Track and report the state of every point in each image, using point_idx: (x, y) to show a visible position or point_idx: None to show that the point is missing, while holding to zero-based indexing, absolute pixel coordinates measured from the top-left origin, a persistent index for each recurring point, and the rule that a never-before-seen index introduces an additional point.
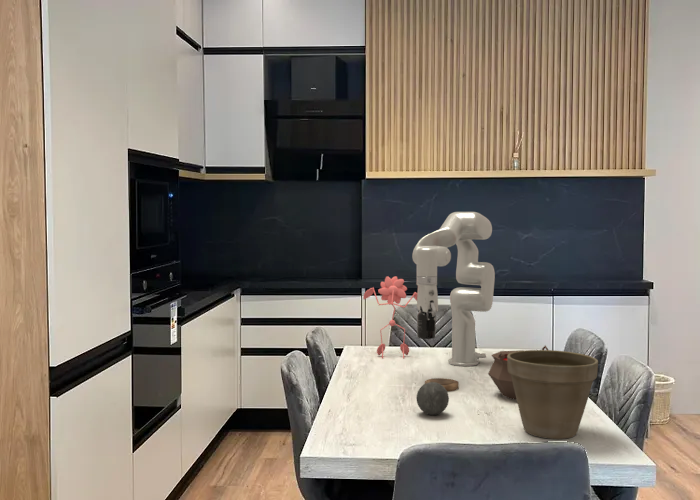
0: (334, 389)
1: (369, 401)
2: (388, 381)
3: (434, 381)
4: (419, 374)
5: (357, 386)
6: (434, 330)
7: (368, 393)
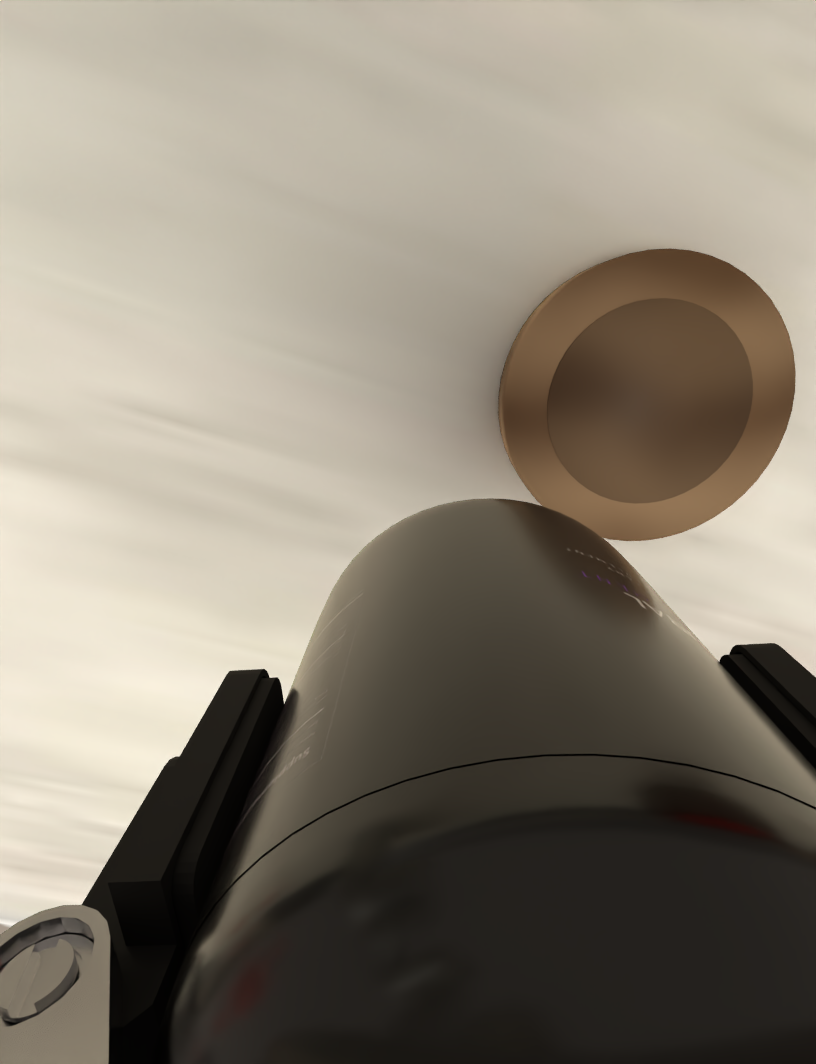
0: None
1: None
2: None
3: (629, 466)
4: (147, 436)
5: None
6: (768, 644)
7: None
